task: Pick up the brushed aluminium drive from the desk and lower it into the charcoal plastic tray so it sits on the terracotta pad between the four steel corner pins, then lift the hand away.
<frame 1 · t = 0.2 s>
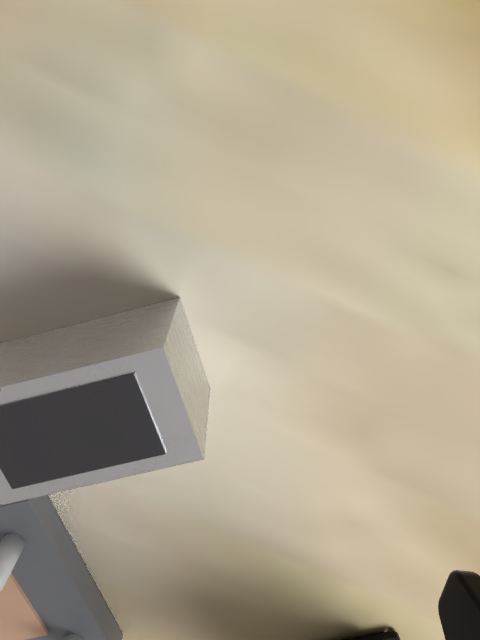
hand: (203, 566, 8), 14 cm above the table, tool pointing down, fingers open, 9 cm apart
drive: (108, 365, 22), on the table
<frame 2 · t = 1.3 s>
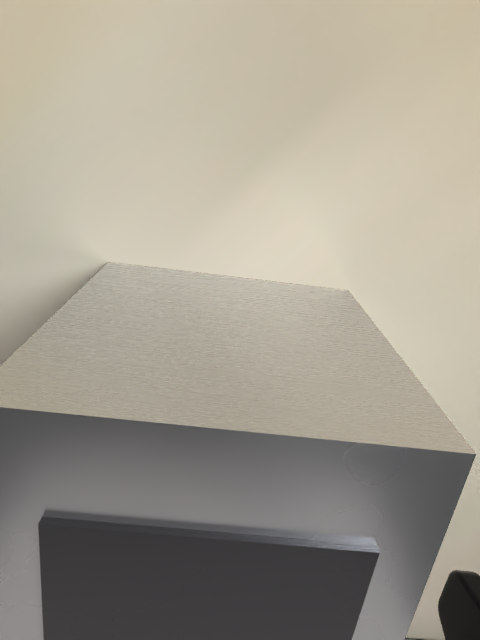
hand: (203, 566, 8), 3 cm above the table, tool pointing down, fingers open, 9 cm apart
drive: (208, 450, 11), on the table
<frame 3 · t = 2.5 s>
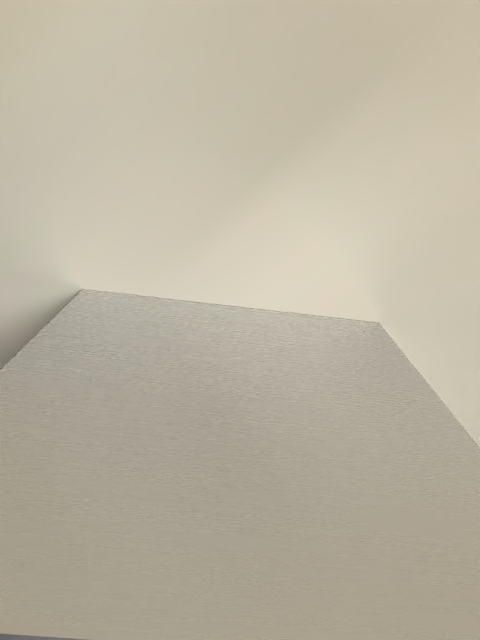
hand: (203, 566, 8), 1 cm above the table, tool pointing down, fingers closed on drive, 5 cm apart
drive: (207, 512, 9), on the table, touching gripper
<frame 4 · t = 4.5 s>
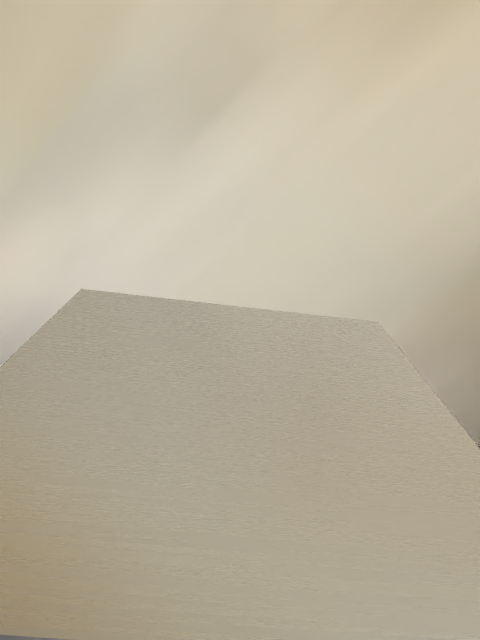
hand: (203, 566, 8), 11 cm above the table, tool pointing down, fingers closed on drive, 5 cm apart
drive: (206, 512, 9), point 10 cm above the table, touching gripper
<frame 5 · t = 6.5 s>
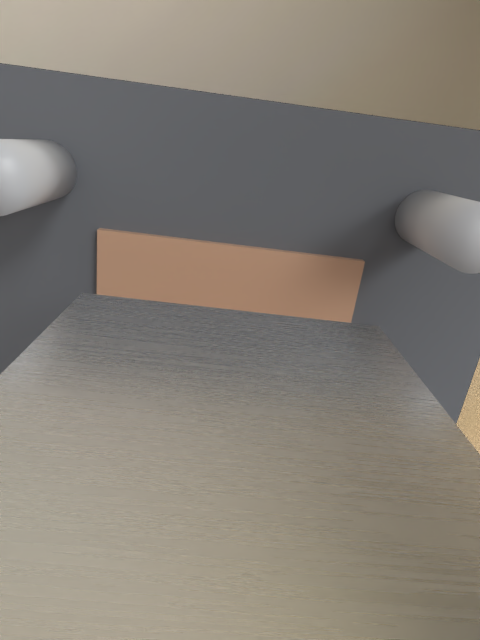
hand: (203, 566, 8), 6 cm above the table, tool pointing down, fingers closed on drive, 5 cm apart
drive: (207, 515, 9), point 5 cm above the table, touching gripper
tray: (213, 399, 13), on the table
when the fingers open (4 cm above the table, at t = 7.6 s): drive drops 1 cm, resting on tray.
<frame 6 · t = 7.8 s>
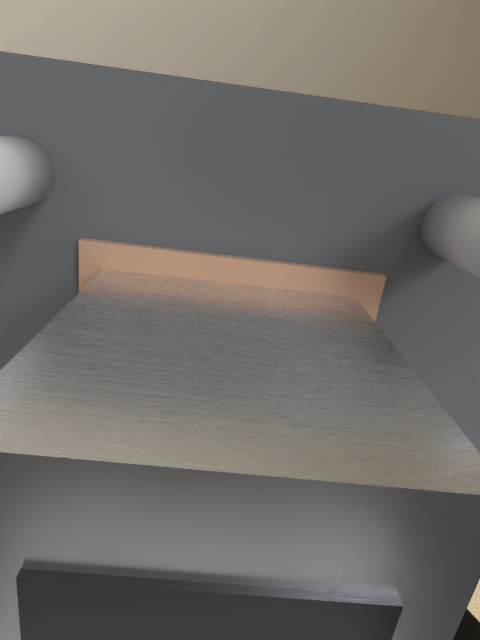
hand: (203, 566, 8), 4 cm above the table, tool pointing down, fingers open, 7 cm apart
drive: (209, 466, 11), point 2 cm above the table, touching tray
tray: (212, 424, 12), on the table
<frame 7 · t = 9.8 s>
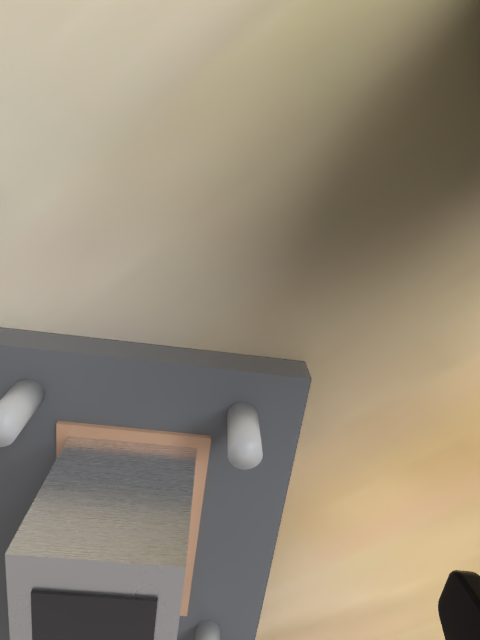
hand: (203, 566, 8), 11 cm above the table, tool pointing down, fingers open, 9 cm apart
drive: (128, 529, 19), point 2 cm above the table, touching tray
tray: (135, 500, 21), on the table
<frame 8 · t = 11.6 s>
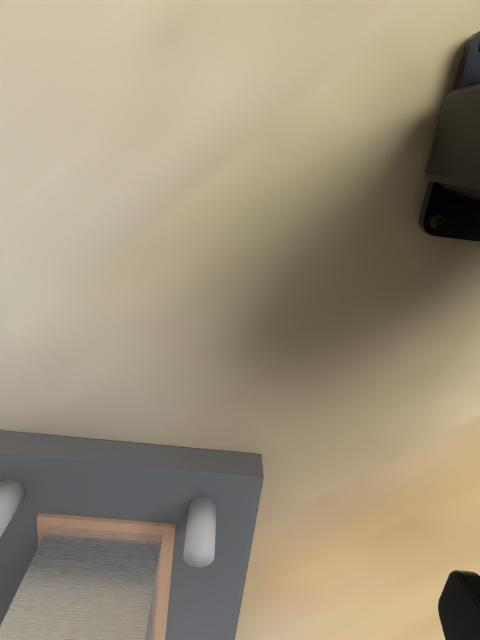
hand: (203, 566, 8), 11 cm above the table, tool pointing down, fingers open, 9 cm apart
drive: (104, 601, 22), point 2 cm above the table, touching tray
tray: (113, 570, 23), on the table
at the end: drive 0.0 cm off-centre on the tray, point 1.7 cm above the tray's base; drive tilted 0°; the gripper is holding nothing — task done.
